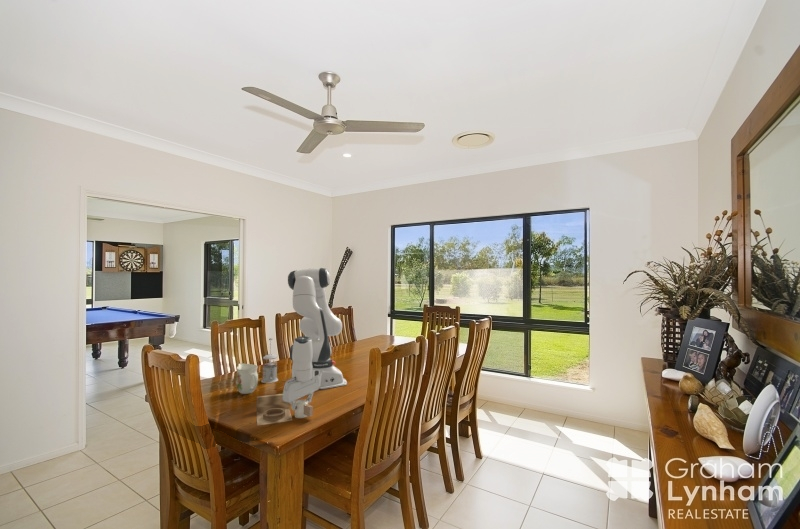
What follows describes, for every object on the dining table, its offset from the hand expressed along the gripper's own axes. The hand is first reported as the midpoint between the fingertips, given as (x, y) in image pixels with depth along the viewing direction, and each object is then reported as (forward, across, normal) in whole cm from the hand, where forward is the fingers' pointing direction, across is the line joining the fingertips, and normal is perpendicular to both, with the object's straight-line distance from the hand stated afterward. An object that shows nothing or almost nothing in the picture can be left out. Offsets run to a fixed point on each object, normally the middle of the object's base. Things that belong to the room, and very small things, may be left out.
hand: (301, 406), depth 156 cm
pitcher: (+6, +13, +48) cm, 50 cm away
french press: (+6, +33, +53) cm, 63 cm away
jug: (+5, -1, -2) cm, 6 cm away
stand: (+5, -7, +9) cm, 13 cm away
